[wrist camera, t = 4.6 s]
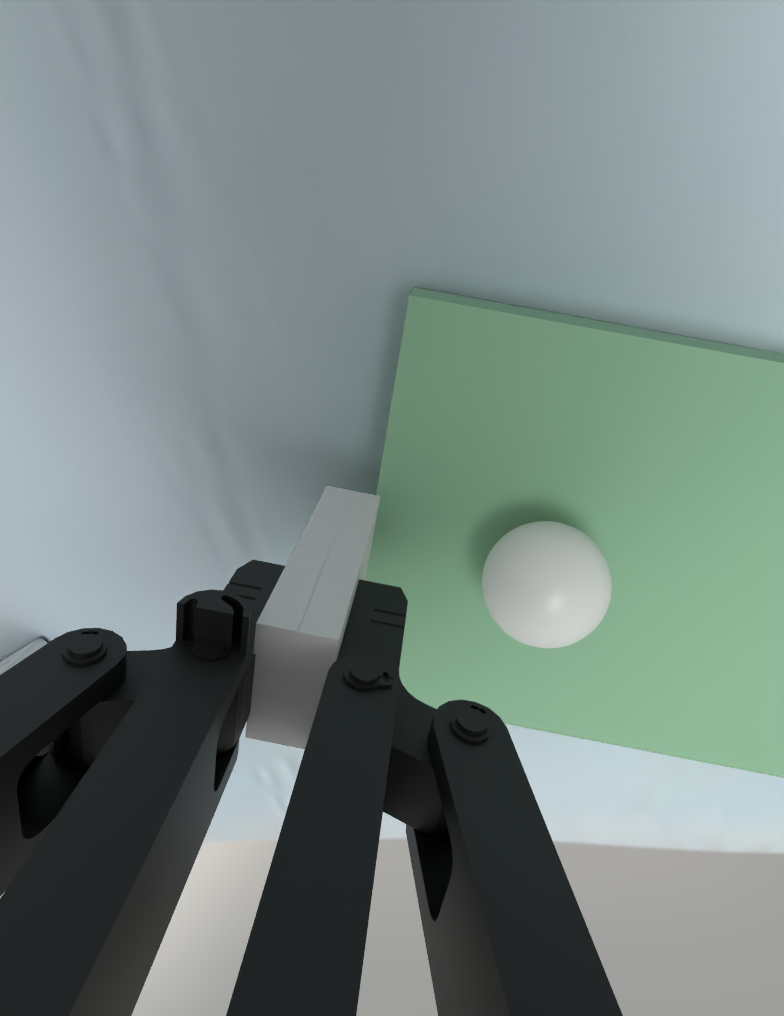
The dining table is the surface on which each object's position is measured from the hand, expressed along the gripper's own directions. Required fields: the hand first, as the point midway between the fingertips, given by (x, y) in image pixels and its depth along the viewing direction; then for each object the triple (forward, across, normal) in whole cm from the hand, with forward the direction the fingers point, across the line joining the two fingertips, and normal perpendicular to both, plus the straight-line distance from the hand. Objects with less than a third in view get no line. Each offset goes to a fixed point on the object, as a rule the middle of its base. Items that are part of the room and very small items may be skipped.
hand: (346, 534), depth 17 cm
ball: (-1, +6, 0) cm, 6 cm away
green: (+4, +14, 0) cm, 14 cm away
